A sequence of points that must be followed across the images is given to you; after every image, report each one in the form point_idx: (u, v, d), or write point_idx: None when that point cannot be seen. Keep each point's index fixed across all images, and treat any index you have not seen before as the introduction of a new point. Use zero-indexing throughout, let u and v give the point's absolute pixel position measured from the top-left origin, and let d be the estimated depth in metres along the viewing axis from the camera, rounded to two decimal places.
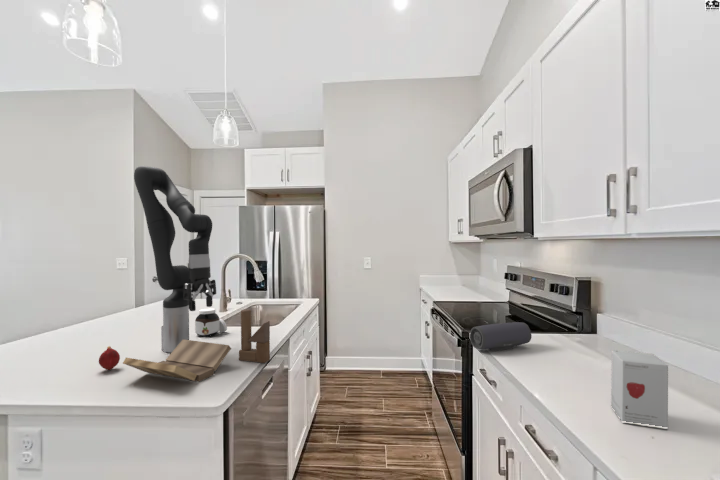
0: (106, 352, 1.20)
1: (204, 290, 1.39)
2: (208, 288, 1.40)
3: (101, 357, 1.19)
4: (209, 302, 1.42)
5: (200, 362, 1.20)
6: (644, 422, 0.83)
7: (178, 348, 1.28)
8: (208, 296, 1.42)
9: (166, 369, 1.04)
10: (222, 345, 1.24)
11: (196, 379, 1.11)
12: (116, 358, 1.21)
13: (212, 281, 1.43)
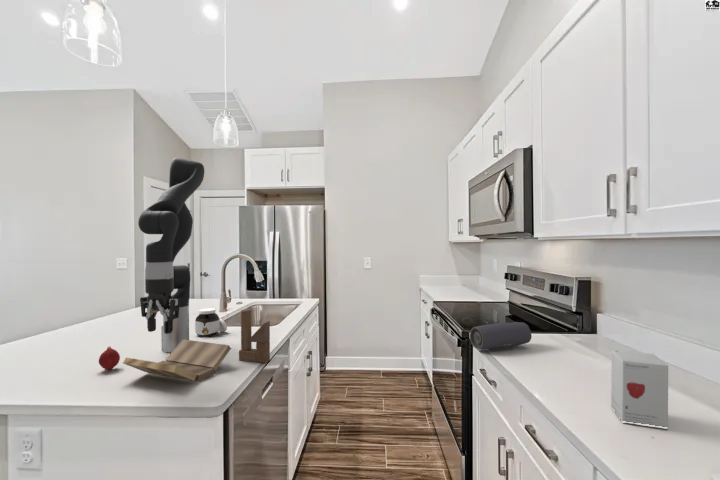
0: (106, 352, 1.20)
1: None
2: None
3: (101, 357, 1.19)
4: (154, 325, 1.11)
5: (200, 362, 1.20)
6: (644, 422, 0.83)
7: (178, 348, 1.28)
8: (152, 317, 1.11)
9: (166, 369, 1.04)
10: (222, 345, 1.24)
11: (196, 379, 1.11)
12: (116, 358, 1.21)
13: None
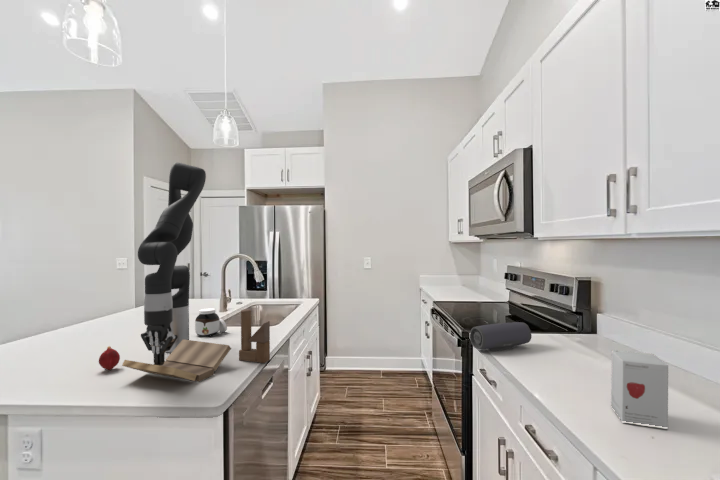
0: (106, 352, 1.20)
1: None
2: None
3: (101, 357, 1.19)
4: None
5: (200, 362, 1.20)
6: (644, 422, 0.83)
7: (178, 348, 1.28)
8: None
9: (165, 372, 1.04)
10: (222, 345, 1.24)
11: (196, 379, 1.11)
12: (116, 358, 1.21)
13: None
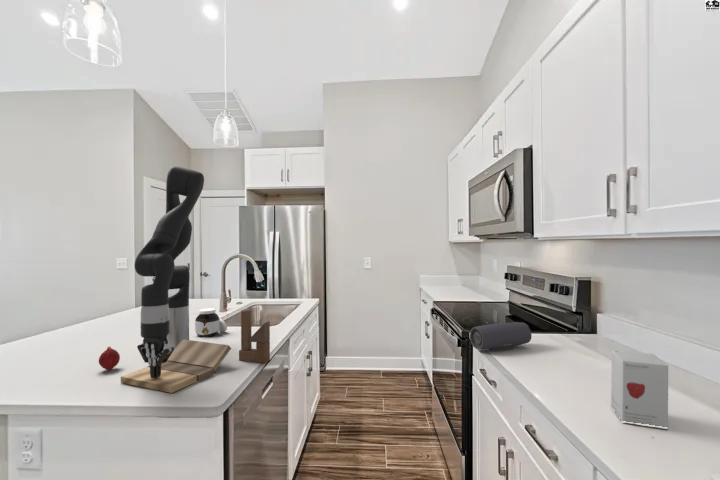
0: (106, 352, 1.20)
1: None
2: None
3: (101, 357, 1.19)
4: None
5: (200, 362, 1.20)
6: (644, 422, 0.83)
7: (178, 348, 1.28)
8: None
9: (164, 390, 1.03)
10: (222, 345, 1.24)
11: None
12: (116, 358, 1.21)
13: None
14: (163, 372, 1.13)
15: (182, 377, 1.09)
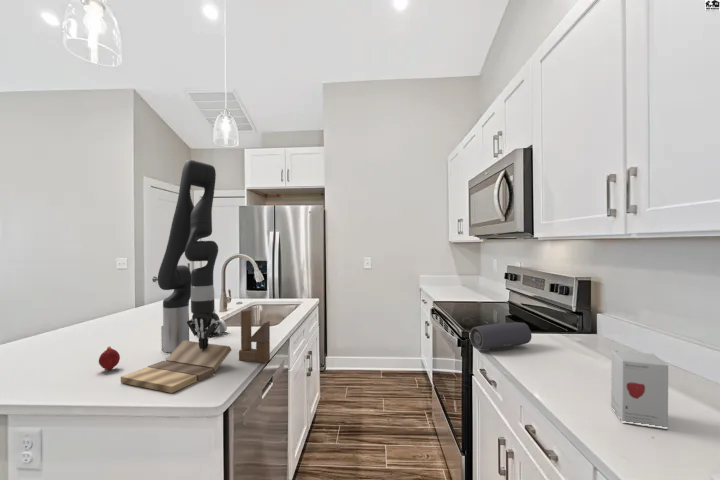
0: (106, 352, 1.20)
1: None
2: None
3: (101, 357, 1.19)
4: None
5: (200, 362, 1.20)
6: (644, 422, 0.83)
7: (178, 349, 1.28)
8: None
9: (164, 390, 1.03)
10: (223, 346, 1.25)
11: None
12: (116, 358, 1.21)
13: None
14: (163, 372, 1.13)
15: (182, 377, 1.09)
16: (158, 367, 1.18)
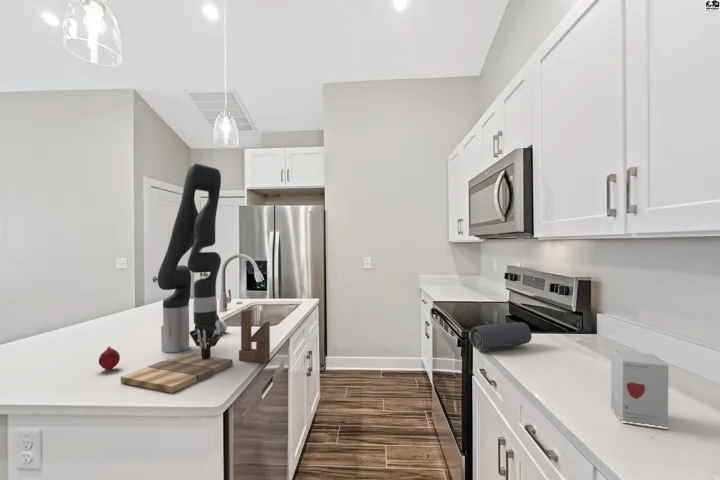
0: (106, 352, 1.20)
1: None
2: None
3: (101, 357, 1.19)
4: None
5: (201, 364, 1.20)
6: (644, 422, 0.83)
7: (180, 356, 1.29)
8: None
9: (164, 390, 1.03)
10: (225, 359, 1.26)
11: None
12: (116, 358, 1.21)
13: None
14: (163, 372, 1.13)
15: (182, 377, 1.09)
16: (158, 367, 1.18)
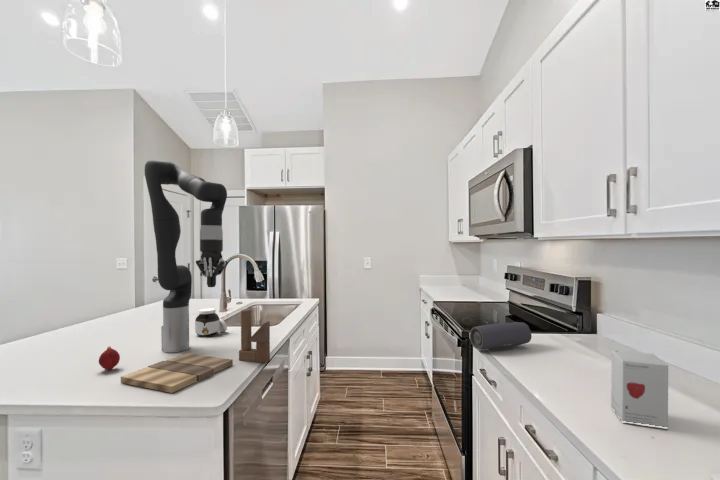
0: (106, 352, 1.20)
1: None
2: None
3: (101, 357, 1.19)
4: None
5: (201, 364, 1.20)
6: (644, 422, 0.83)
7: (180, 356, 1.29)
8: None
9: (164, 390, 1.03)
10: (225, 359, 1.26)
11: None
12: (116, 358, 1.21)
13: None
14: (163, 372, 1.13)
15: (182, 377, 1.09)
16: (158, 367, 1.18)
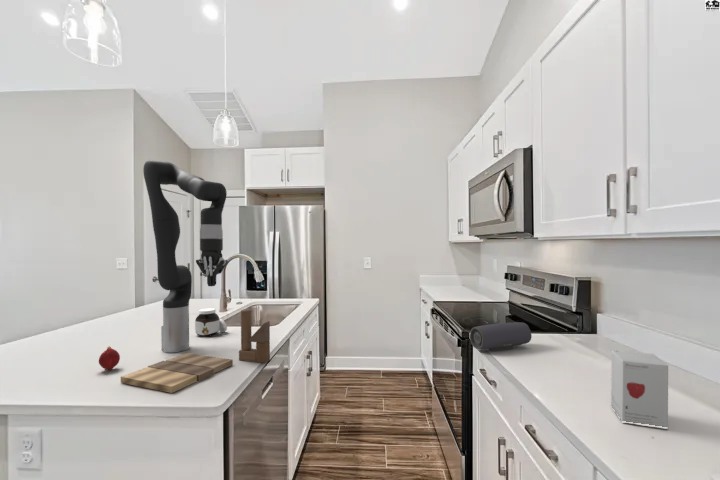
0: (106, 352, 1.20)
1: None
2: None
3: (101, 357, 1.19)
4: None
5: (201, 364, 1.20)
6: (644, 422, 0.83)
7: (180, 356, 1.29)
8: None
9: (164, 390, 1.03)
10: (225, 359, 1.26)
11: None
12: (116, 358, 1.21)
13: None
14: (163, 372, 1.13)
15: (182, 377, 1.09)
16: (158, 367, 1.18)
